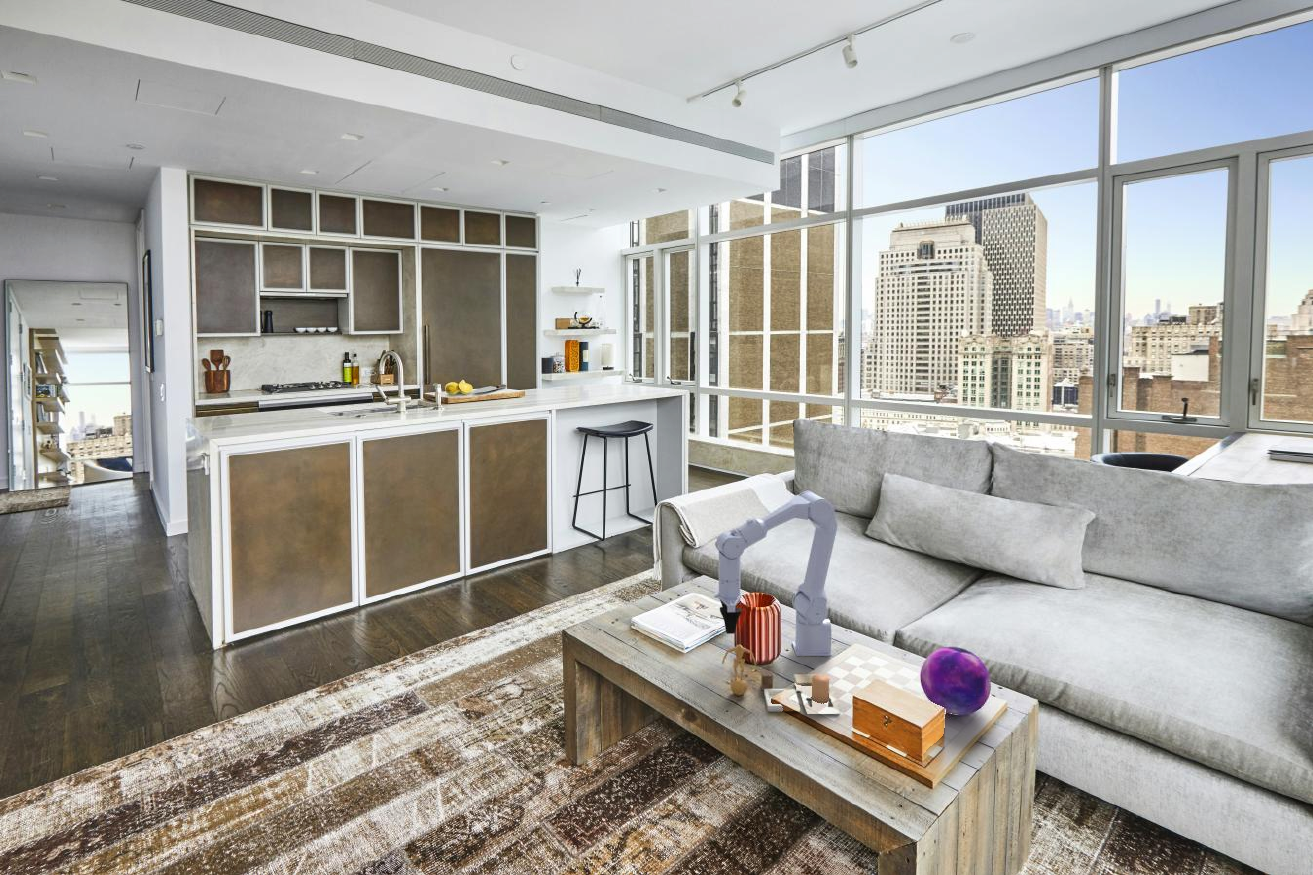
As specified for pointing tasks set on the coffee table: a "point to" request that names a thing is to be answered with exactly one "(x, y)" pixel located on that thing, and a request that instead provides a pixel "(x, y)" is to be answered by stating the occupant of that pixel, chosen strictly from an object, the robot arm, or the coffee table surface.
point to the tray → (768, 695)
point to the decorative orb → (955, 680)
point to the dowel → (820, 688)
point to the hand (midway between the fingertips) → (729, 626)
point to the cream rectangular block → (803, 679)
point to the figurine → (738, 683)
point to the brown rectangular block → (767, 680)
